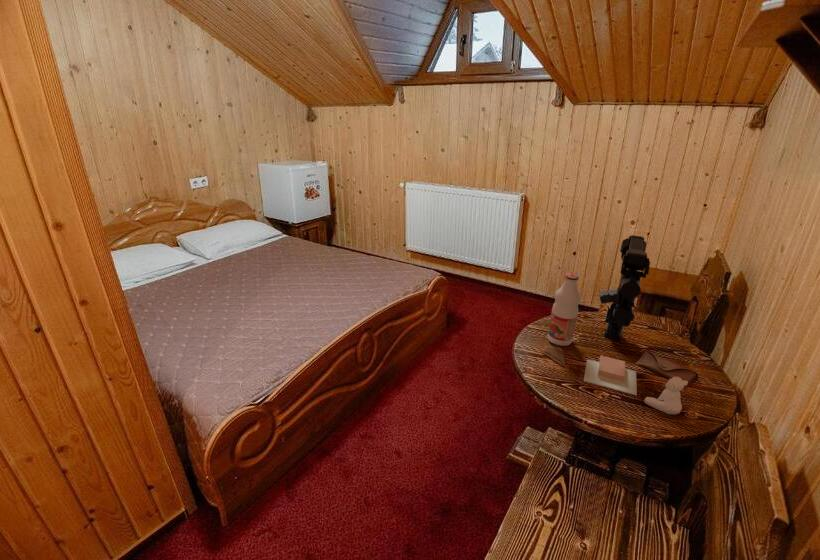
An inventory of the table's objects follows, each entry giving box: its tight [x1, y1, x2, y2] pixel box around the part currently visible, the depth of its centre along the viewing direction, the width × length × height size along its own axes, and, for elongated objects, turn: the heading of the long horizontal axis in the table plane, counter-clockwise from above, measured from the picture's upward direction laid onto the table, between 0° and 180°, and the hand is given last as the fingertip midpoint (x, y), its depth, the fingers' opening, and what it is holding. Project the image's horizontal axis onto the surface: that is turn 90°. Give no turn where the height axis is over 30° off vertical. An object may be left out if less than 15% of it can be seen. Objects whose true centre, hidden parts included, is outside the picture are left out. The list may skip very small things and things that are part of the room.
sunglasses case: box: [634, 349, 699, 389], centre depth 142 cm, size 18×7×7 cm, turn 37°
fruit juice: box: [547, 272, 582, 347], centre depth 155 cm, size 9×9×28 cm
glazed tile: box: [597, 354, 626, 383], centre depth 140 cm, size 2×8×10 cm
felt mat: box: [583, 358, 638, 397], centre depth 139 cm, size 14×16×1 cm
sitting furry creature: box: [644, 377, 688, 415], centre depth 122 cm, size 10×9×12 cm
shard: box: [542, 345, 566, 367], centre depth 149 cm, size 11×8×2 cm
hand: (618, 326), depth 147 cm, fingers closed
